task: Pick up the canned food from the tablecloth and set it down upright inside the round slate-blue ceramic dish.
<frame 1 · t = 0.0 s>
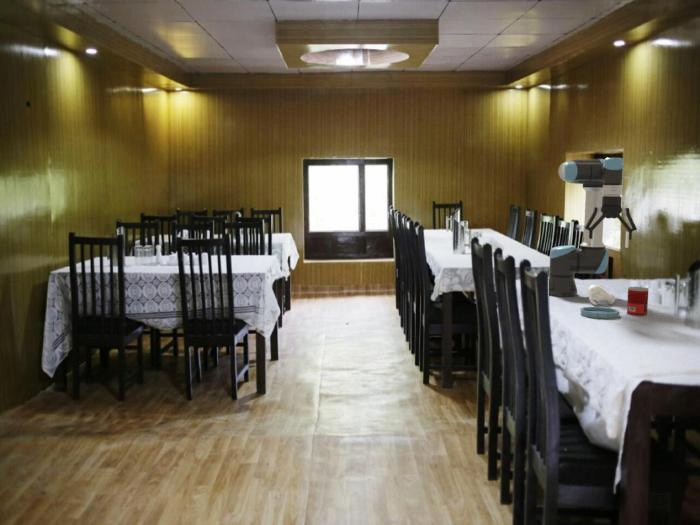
hand: (609, 247, 319), 28 cm above the table, tool pointing down, fingers open, 13 cm apart
penguin figurine: (601, 304, 346), on the table
canned food: (636, 314, 323), on the table
dish: (599, 315, 319), on the table
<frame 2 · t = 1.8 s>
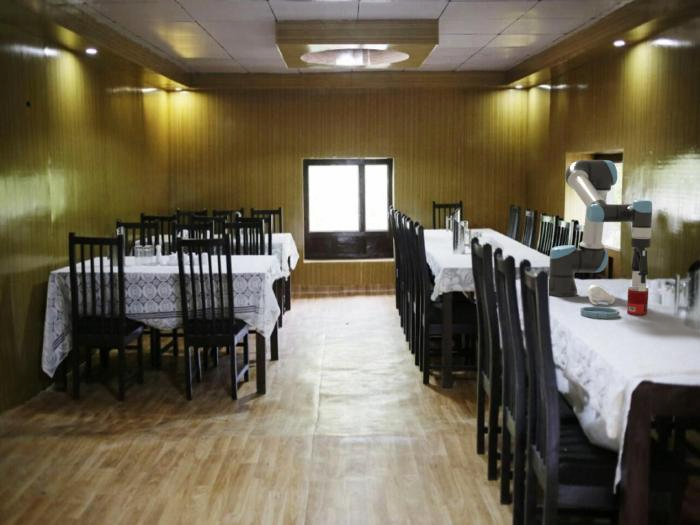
hand: (638, 288, 321), 11 cm above the table, tool pointing down, fingers open, 13 cm apart
nothing on the table moved.
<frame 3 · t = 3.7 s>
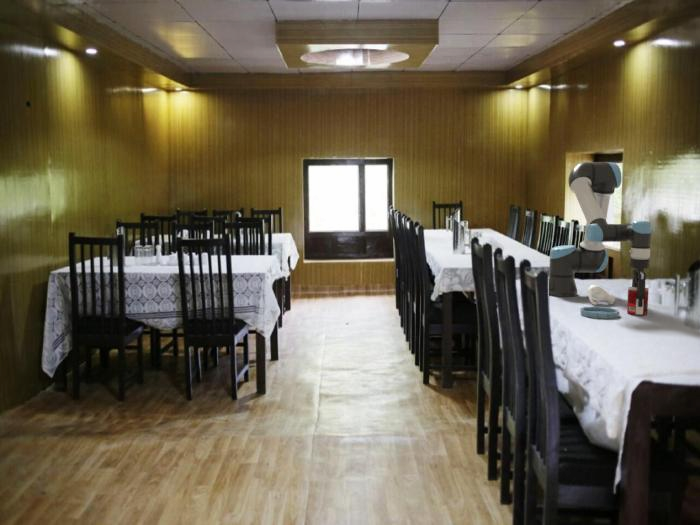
hand: (637, 312, 323), 1 cm above the table, tool pointing down, fingers closed on canned food, 8 cm apart
canned food: (637, 314, 323), on the table, touching gripper
everything else where it was.
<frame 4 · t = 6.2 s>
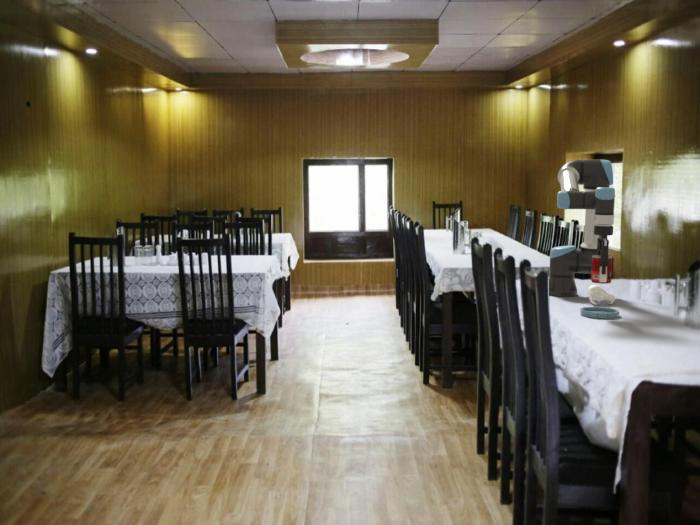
hand: (601, 280, 318), 15 cm above the table, tool pointing down, fingers closed on canned food, 8 cm apart
canned food: (601, 282, 318), point 14 cm above the table, touching gripper
everything else where it was.
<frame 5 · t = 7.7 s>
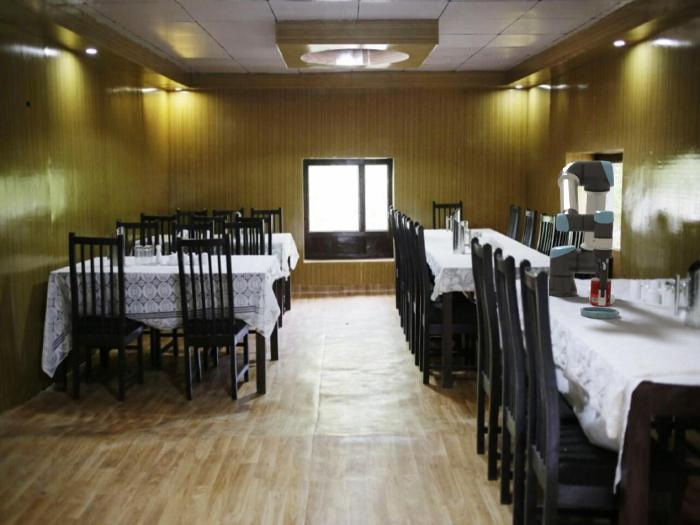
hand: (600, 303, 319), 5 cm above the table, tool pointing down, fingers closed on canned food, 8 cm apart
canned food: (599, 305, 319), point 4 cm above the table, touching gripper
everything else where it was.
when the fingers open (3 cm above the table, at t = 9.0 s): canned food drops 1 cm, resting on dish.
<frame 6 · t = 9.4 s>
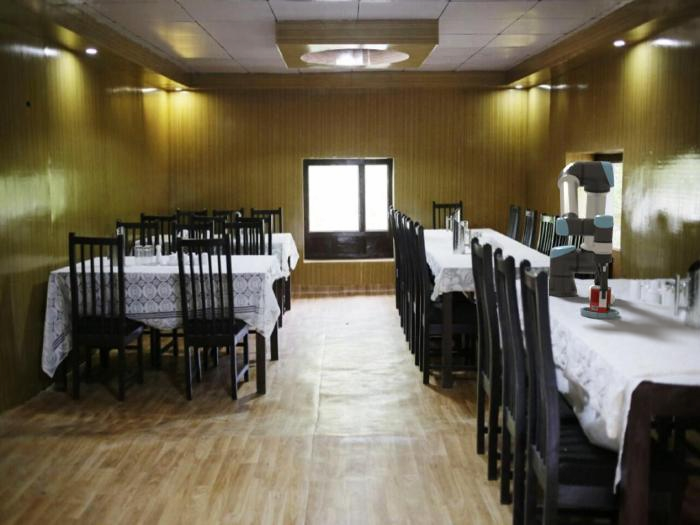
hand: (600, 304, 319), 5 cm above the table, tool pointing down, fingers open, 13 cm apart
canned food: (599, 313, 319), point 1 cm above the table, touching dish
everything else where it was.
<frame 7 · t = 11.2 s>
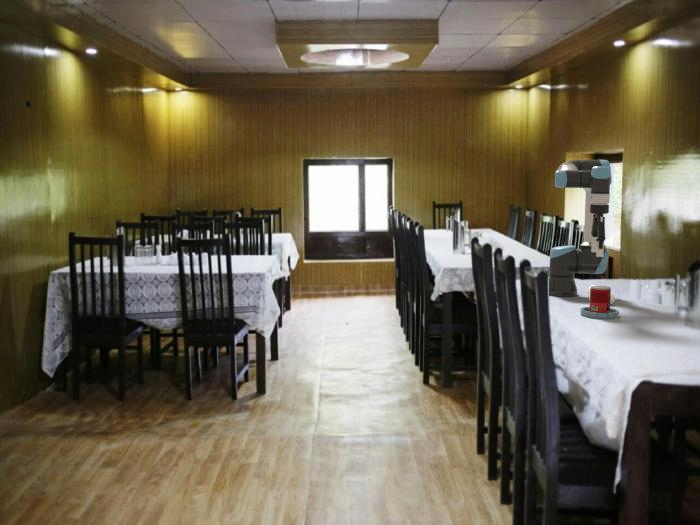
hand: (597, 254, 324), 24 cm above the table, tool pointing down, fingers open, 13 cm apart
nothing on the table moved.
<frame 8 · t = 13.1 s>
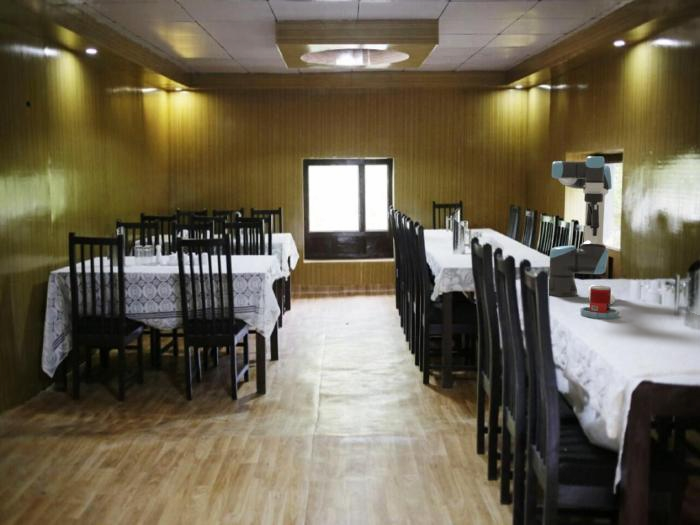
hand: (591, 242, 333), 29 cm above the table, tool pointing down, fingers open, 13 cm apart
nothing on the table moved.
at the end: canned food 0.2 cm from the dish (horizontally); canned food tilted 0°; canned food touching dish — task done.
